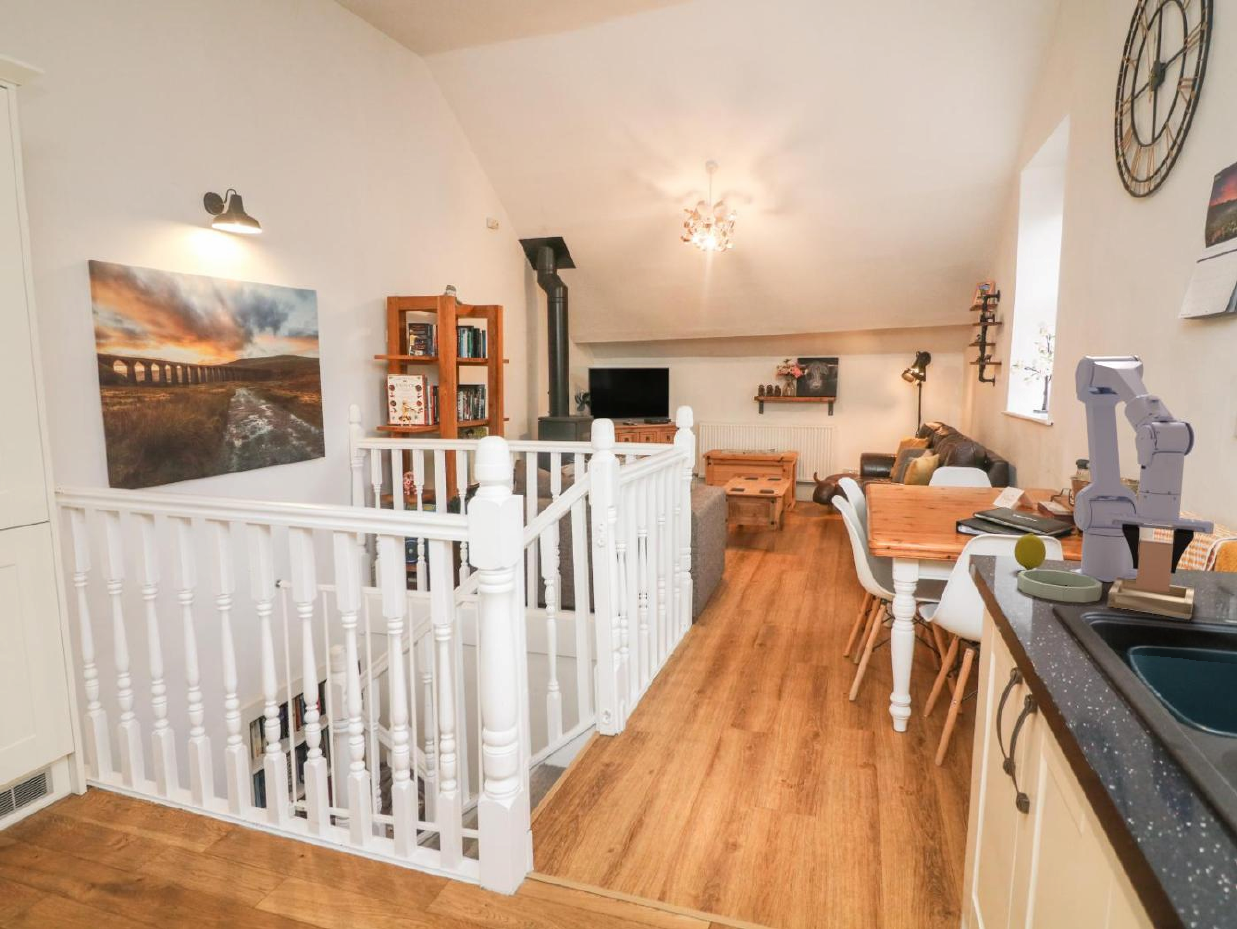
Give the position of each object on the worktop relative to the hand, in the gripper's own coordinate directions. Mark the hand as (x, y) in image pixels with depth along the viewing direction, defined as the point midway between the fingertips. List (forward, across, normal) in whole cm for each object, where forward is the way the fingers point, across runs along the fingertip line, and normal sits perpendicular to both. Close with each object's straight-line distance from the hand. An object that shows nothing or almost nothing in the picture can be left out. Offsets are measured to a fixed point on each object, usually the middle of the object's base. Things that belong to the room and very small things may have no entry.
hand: (1153, 570), depth 118 cm
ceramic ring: (+6, -14, 0) cm, 15 cm away
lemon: (+6, -20, +14) cm, 25 cm away
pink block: (+3, 0, 0) cm, 3 cm away
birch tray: (+6, 0, 0) cm, 6 cm away
